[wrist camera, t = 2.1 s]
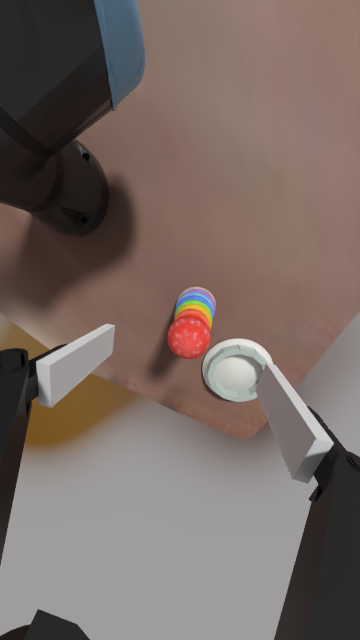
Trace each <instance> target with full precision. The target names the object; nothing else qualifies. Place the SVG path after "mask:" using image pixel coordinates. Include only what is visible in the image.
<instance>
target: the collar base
mask: <svg viewBox="0 0 360 640" xmlns="http://www.w3.org/2000/svg"><path fill="white" fill-rule="evenodd" d="M266 363H268V364H272V365H273V362H272V359H271V357H270V355H269V354H268V353H267V351H266V350H265V349H264V348H263V347H262V346H260V345H259V344H257V343H256V342H253V341H251V340H248V339H243V338H233V339H227V340H224V341H222V342H219V343H218V344H216V345H215V346H213V347H212V348H211V349H210V350H209V351H208V353H207V354H206V356H205V358H204V361H203V367H202V371H203V377H204V380H205V382H206V384H207V385H208V386H209V388H210V389H211V390H212V391H214V392H215V393H216V394H218V395H220V396H221V397H222V398H224V399H228V400H231V401H235V402H237V401H238V402H242V401H248V400H253V399H255V398H256V397H258V396H257V394H256V391H255V390H256V387H257V385H258V382H259V380H260V377H261V375H262V372H263V370H264V367H265V365H266ZM252 398H253V399H252Z"/></svg>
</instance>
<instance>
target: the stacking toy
mask: <svg viewBox="0 0 360 640" xmlns="http://www.w3.org/2000/svg"><path fill="white" fill-rule="evenodd" d="M215 312H216V302H215V299H214V297H213V295H212V294H211V293H210V292H209V291H208V290H206V289H204V288H202V287H191V288H188V289H186V290H184V291H183V292H182V293H181V294H180V296H179V297H178V299H177V303H176V307H175V315H174V321H173V323H172V324H171V326H170V328H169V330H168V334H167V340H168V345H169V347H170V349H171V350H172V351H173V352H174V353H175V354H176V355H177V356H179V357H181V358H184V359H194V358H197V357H199V356H201V355H202V354H203V353H205V351H206V350H207V349H208V347H209V344H210V341H211V334H210V329H211V326H212V320H213V318H214V315H215Z"/></svg>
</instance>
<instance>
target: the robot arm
mask: <svg viewBox="0 0 360 640" xmlns="http://www.w3.org/2000/svg"><path fill="white" fill-rule="evenodd" d="M144 66H145V50H144V40H143V32H142V26H141V20H140V14H139V8H138V3H137V0H0V203H3V204H6V205H10V206H13V207H16V208H19V209H22V210H25V211H27V212H29V213H30V214H31V215H33V216H34V217H36V218H37V219H39V220H40V221H41V222H43V223H44V224H46V225H47V226H49V227H50V228H52V229H54V230H56V231H58V232H61V233H65V234H69V235H75V236H76V235H84V234H87V233H89V232H91V231H92V230H94V229H95V228H96V227H97V226H98V225H99V224H100V222H101V221H102V219H103V217H104V215H105V212H106V209H107V204H108V186H107V181H106V177H105V174H104V172H103V169H102V167H101V165H100V164H99V162H98V160H97V159H96V158H95V157H94V155H93V154H92V153H91V152H90V151H89V150H88V149H87V148H86V147H85V146H84V145H83V144H82V143H80V142H79V141H78V140H76V139H75V138H76V137H77V136H78V135H80V134H81V133H82V132H83V131H85V130H86V129H87V128H89V127H90V126H91V125H93V124H94V123H95V122H97V121H98V120H99V119H100V118H102V117H103V116H104V115H106V114H107V113H108V112H110V111H111V110H113V111H115V110H116V109H117V105H118V104H119V103H120V102H121V101H122V100H123V99H124V98H125V97H126V96H127V95H128V94H129V93H130V92H131V91H132V90H134V89H135V88H136V87H137V86H138V84H139V83H140V81H141V79H142V76H143V73H144ZM114 331H115V325H111V324H105V325H103V326H101V327H100V328H98V329H96V330H94V331H92V332H90V333H88V334H87V335H85V336H83V337H81V338H79V339H77V340H75V341H74V342H72V343H70V344H64V345H60V346H57V347H55V348H53V349H51V350H49V351H47V352H45V353H43V354H42V355H39V356H37V357H35V358H34V359H32V360H30V361H28V352H27V350H25V349H20V348H19V349H18V348H13V349H6V350H2V351H0V564H1V558H2V554H3V549H4V544H5V538H6V533H7V528H8V523H9V518H10V513H11V508H12V503H13V498H14V493H15V488H16V482H17V478H18V473H19V468H20V463H21V457H22V452H23V447H24V442H25V437H26V432H27V427H28V422H29V417H30V411H31V407H32V402H31V401H32V400H33V399H34V398H36V397H37V396H38V402H39V405H43V406H47V407H50V408H51V407H53V406H54V405H55V404H56V403H57V402H58V401H59V400H61V399H62V398H63V397H64V396H65V395H66V394H67V393H68V392H69V391H70V390H72V389H73V388H74V387H75V386H76V385H77V384H79V383H80V382H81V381H82V380H83V379H84V378H85V377H86V376H87V375H89V374H90V373H91V372H92V371H93V370H94V369H95V368H96V367H98V366H99V365H100V364H101V363H102V362H103V361H104V360H105V359H107V358H108V357H109V356H110V355H111V354H112V353H113V342H114ZM255 391H256V394H257V396H258V398H259V401H260V403H261V405H262V408H263V410H264V413H265V415H266V417H267V420H268V422H269V425H270V427H271V429H272V432H273V434H274V436H275V439H276V441H277V443H278V446H279V448H280V451H281V453H282V455H283V458H284V460H285V462H286V465H287V467H288V470H289V472H290V475H291V477H292V479H295V480H298V481H302V482H305V483H309V481H310V480H311V478H312V477H313V475H314V476H315V478H316V480H317V482H318V486H317V487H316V489H315V490H314V492H313V493H312V495H311V496H310V498H309V500H310V501H312V503H311V507H310V510H309V514H308V517H307V521H306V525H305V528H304V532H303V536H302V540H301V543H300V547H299V550H298V554H297V558H296V561H295V565H294V568H293V572H292V576H291V580H290V583H289V587H288V591H287V594H286V598H285V602H284V606H283V609H282V613H281V616H280V620H279V623H278V627H277V631H276V635H275V638H274V640H360V457H359V456H357V455H355V454H353V453H351V452H348V451H346V449H345V448H344V447H343V446H342V444H341V443H340V442H339V441H338V439H337V438H336V437H335V435H334V434H333V433H332V432H331V430H330V429H328V427H327V425H326V424H325V423H323V420H322V419H321V418H320V416H319V415H318V414H317V413H316V412H315V411H314V410H312V409H311V408H310V407H309V406H306V405H305V404H304V402H303V401H302V400H301V399H300V397H299V396H298V394H297V393H296V392H295V390H294V389H293V388H292V386H291V385H290V384H289V382H288V381H287V380H286V378H285V377H284V376H283V374H282V373H281V372H280V370H279V369H278V368H277V366H276V365H272V364H268V363H266V365H265V367H264V370H263V372H262V375H261V377H260V380H259V382H258V385H257V387H256V390H255ZM0 640H90V639H89V638H88V637H87V636H86V635H85V633H84V632H83V631H82V630H81V629H80V627H79V626H78V625H77V624H75V623H72V622H70V621H67V620H64V619H62V618H59V617H57V616H54V615H52V614H49V613H47V612H44V611H42V610H39V609H38V611H37V612H36V615H35V617H34V619H33V621H32V623H31V624H30V625H25V626H22V627H19V628H16V629H13V630H11V631H9V632H7V633H5V634H3V635H1V636H0Z"/></svg>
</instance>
